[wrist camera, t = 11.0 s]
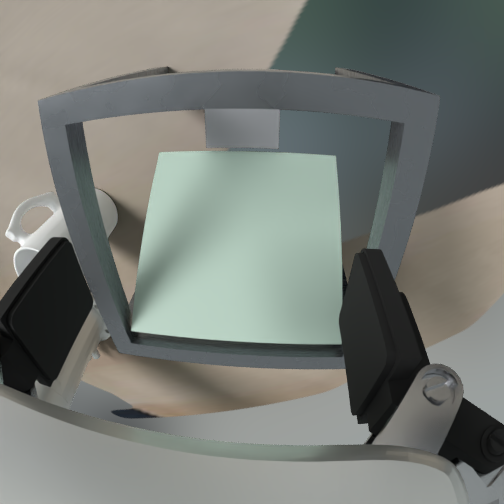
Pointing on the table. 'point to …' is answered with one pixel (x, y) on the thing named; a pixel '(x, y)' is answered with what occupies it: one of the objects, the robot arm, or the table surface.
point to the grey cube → (242, 127)
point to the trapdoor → (242, 248)
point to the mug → (51, 225)
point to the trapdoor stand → (232, 97)
